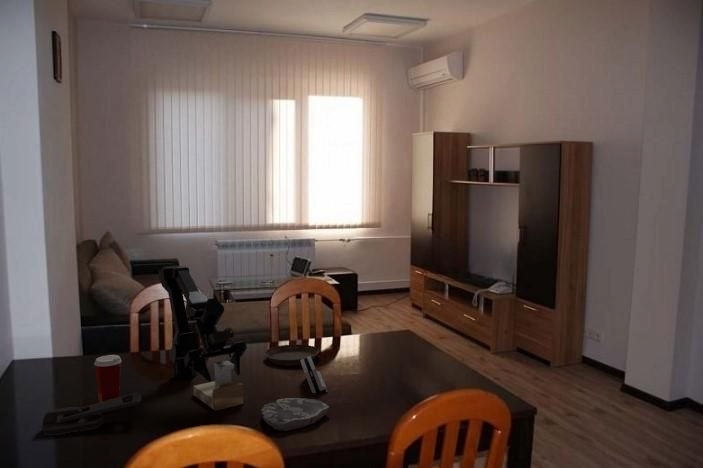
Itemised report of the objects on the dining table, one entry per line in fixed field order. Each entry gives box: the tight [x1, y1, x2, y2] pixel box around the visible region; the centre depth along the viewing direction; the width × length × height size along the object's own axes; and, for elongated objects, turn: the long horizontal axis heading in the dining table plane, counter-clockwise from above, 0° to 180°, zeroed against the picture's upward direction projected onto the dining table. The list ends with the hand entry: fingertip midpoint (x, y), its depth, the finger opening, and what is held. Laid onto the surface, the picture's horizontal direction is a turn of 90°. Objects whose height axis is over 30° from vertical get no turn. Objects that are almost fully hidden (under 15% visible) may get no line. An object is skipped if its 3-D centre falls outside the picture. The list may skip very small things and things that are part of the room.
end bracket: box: [214, 360, 234, 389], centre depth 173 cm, size 5×4×12 cm
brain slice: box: [260, 397, 330, 432], centre depth 163 cm, size 20×17×3 cm
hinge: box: [300, 356, 329, 394], centre depth 190 cm, size 17×5×10 cm, turn 11°
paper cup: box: [93, 354, 122, 403], centre depth 174 cm, size 8×8×14 cm
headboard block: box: [193, 380, 244, 411], centre depth 177 cm, size 16×9×6 cm, turn 38°
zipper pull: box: [41, 391, 142, 436], centre depth 159 cm, size 9×7×25 cm
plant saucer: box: [264, 343, 320, 367], centre depth 219 cm, size 21×21×3 cm
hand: (224, 378), depth 173 cm, fingers open, 9 cm apart
